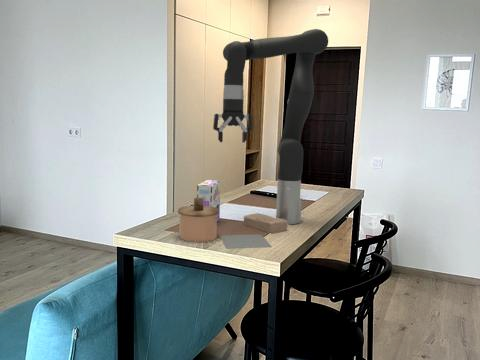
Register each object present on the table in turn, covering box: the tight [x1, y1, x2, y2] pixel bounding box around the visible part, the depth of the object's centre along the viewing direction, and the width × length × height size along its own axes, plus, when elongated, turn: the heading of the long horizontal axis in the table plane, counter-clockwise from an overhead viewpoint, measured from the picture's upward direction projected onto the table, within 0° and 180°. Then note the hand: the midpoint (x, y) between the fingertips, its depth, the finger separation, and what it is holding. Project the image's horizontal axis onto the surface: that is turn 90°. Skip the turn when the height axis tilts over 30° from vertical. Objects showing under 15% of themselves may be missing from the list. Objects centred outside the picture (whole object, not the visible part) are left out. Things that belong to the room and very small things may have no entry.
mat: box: [219, 233, 273, 250], centre depth 157 cm, size 15×15×1 cm
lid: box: [177, 197, 219, 217], centre depth 160 cm, size 14×14×5 cm
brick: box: [243, 212, 288, 234], centre depth 176 cm, size 17×8×5 cm, turn 40°
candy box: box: [196, 179, 221, 223], centre depth 179 cm, size 14×6×16 cm, turn 168°
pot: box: [179, 214, 218, 243], centre depth 161 cm, size 13×13×9 cm
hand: (232, 142), depth 173 cm, fingers open, 8 cm apart
